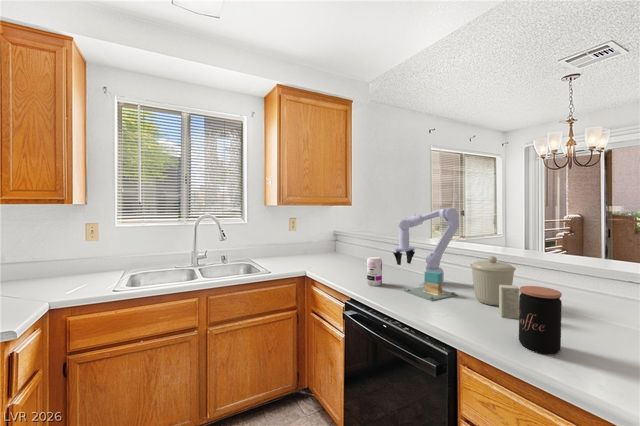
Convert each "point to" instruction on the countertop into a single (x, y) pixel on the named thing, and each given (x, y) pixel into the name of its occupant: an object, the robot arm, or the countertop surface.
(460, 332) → the countertop surface
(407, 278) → the countertop surface
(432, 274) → the teal brick
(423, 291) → the baseplate
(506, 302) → the skincare box
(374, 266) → the supplement can
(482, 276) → the canister
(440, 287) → the honey-wood brick
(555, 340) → the coffee jar
